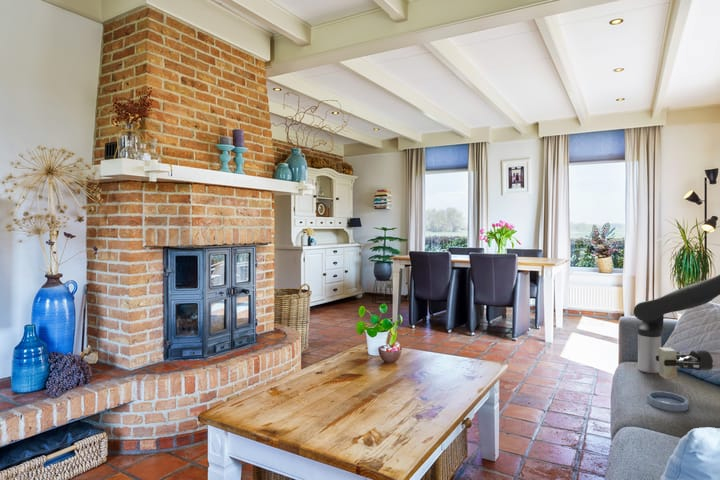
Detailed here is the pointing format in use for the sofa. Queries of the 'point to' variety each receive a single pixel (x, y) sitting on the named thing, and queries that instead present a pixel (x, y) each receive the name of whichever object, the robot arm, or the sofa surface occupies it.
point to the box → (667, 371)
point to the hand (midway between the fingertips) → (660, 360)
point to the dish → (667, 401)
